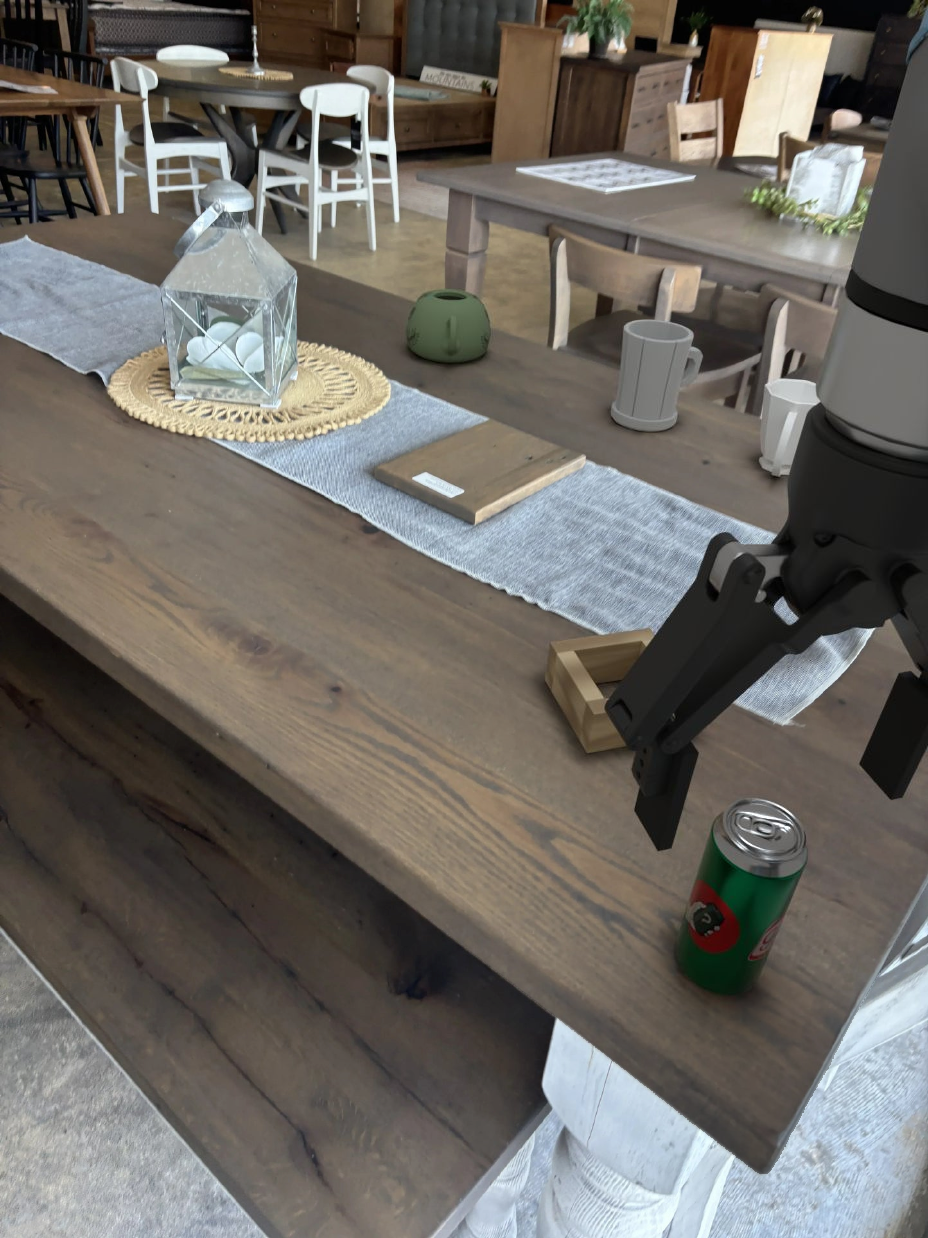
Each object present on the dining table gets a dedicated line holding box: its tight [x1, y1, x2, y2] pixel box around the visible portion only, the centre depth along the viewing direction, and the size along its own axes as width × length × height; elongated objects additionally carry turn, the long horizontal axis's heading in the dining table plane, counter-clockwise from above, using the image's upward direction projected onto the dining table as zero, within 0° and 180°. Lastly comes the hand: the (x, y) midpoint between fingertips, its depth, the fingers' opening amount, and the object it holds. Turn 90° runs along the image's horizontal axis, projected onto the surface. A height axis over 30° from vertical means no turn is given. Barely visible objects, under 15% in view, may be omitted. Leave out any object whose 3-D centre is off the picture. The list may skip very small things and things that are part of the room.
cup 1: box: [610, 319, 704, 433], centre depth 119 cm, size 10×9×12 cm
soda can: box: [674, 797, 809, 996], centre depth 51 cm, size 5×5×12 cm
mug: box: [405, 288, 492, 364], centre depth 135 cm, size 16×13×9 cm
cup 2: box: [758, 378, 821, 478], centre depth 108 cm, size 8×12×10 cm
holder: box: [544, 627, 675, 754], centre depth 72 cm, size 9×9×4 cm
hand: (770, 804), depth 47 cm, fingers open, 13 cm apart
